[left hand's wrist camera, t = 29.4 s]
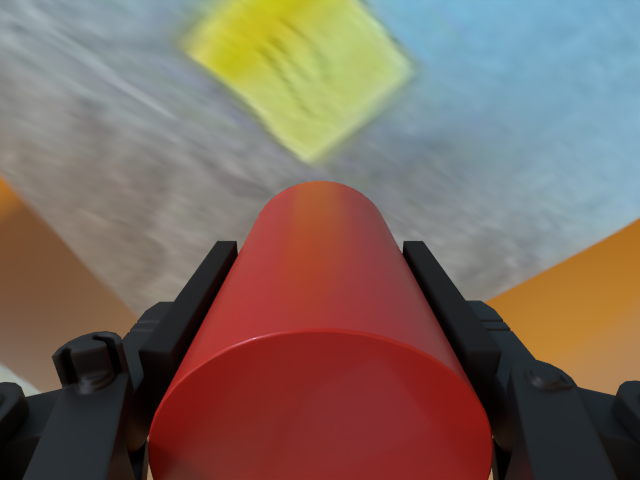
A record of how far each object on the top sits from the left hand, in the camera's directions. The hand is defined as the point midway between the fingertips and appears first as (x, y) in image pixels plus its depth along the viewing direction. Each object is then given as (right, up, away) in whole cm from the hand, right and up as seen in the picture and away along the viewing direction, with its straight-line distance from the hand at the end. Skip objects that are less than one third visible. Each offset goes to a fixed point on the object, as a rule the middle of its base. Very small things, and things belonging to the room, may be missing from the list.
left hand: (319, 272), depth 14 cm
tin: (0, +1, +3) cm, 3 cm away
